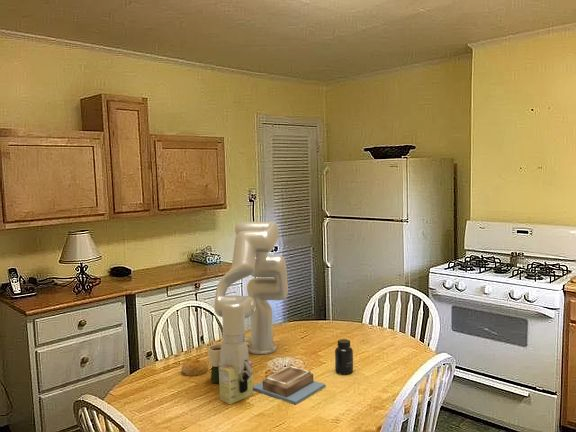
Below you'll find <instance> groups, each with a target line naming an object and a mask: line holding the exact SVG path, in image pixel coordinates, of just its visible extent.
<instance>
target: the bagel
mask: <svg viewBox="0 0 576 432" xmlns="http://www.w3.org/2000/svg"><path fill="white" fill-rule="evenodd" d="M208 370H209V363H207V361H205V360H201V359H196V358H195V359H192V360H191V359H190V360H186V361H185V362H183V363H182V366H181V371H182V373H184V374H185V375H187V376H188V375H189V377H195V376H196V375H197V376H200V375H204V374H206V373H207V372H208ZM197 376H196V377H197Z"/></svg>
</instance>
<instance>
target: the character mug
mask: <svg viewBox="0 0 576 432" xmlns="http://www.w3.org/2000/svg"><path fill="white" fill-rule="evenodd" d="M221 344H222V343H217V344H211V345H210V346H208V348H207V351H208V353H207V355H208V366H211V369H210V370H211V373H210V382H212V383H219V366H220V365H219V361H220V352H221Z"/></svg>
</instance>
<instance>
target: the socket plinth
mask: <svg viewBox="0 0 576 432" xmlns="http://www.w3.org/2000/svg"><path fill="white" fill-rule="evenodd" d="M262 381H263V389H264V390H267V391H270V392H273V393H276V394H279V395H282V396H285V397H288V396H290V395H292V394H294V393H295V392H297V391H299V390H301V389H302V388H304V387H306V386H308V385H309V384H311V383H313V382H314V381H315V380H314V373H312V372H311V371H310V370H307V369H302V368H299V367H296V366H292V365H287V367H283V368H282V369H280V370H279V371H276V372H274V373H272V374H270V375H268V376H265V379H264V380H262Z"/></svg>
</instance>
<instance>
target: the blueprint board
mask: <svg viewBox="0 0 576 432" xmlns="http://www.w3.org/2000/svg"><path fill="white" fill-rule="evenodd" d="M313 381H314V382H313V383H311V384H309V385H308V386H306V387H304V388H302V389H301V390H299V391H297V392H295V393H294V394H292V395H290V396H288V397H285V396H282V395H279V394H276V393H273V392H270V391H267V390H264V389H263V380H262V381H260V382H259V383H256V384H255V385H254V384H253V392H256V393H257V392H258V393H261V394H264V395H267V396H269V397H273V398H276V399H278V400H280V401H284V402H287V403H290V404H293V405H295V406H297V405H298V404H300V403H302V402H303V401H305V400H306V399H308V398H309V397H312V396H313V395H314V394H316V393H317V392H320V391H322V390H323V389H324V388H326V383H324V382H319V381H316V380H313Z"/></svg>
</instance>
